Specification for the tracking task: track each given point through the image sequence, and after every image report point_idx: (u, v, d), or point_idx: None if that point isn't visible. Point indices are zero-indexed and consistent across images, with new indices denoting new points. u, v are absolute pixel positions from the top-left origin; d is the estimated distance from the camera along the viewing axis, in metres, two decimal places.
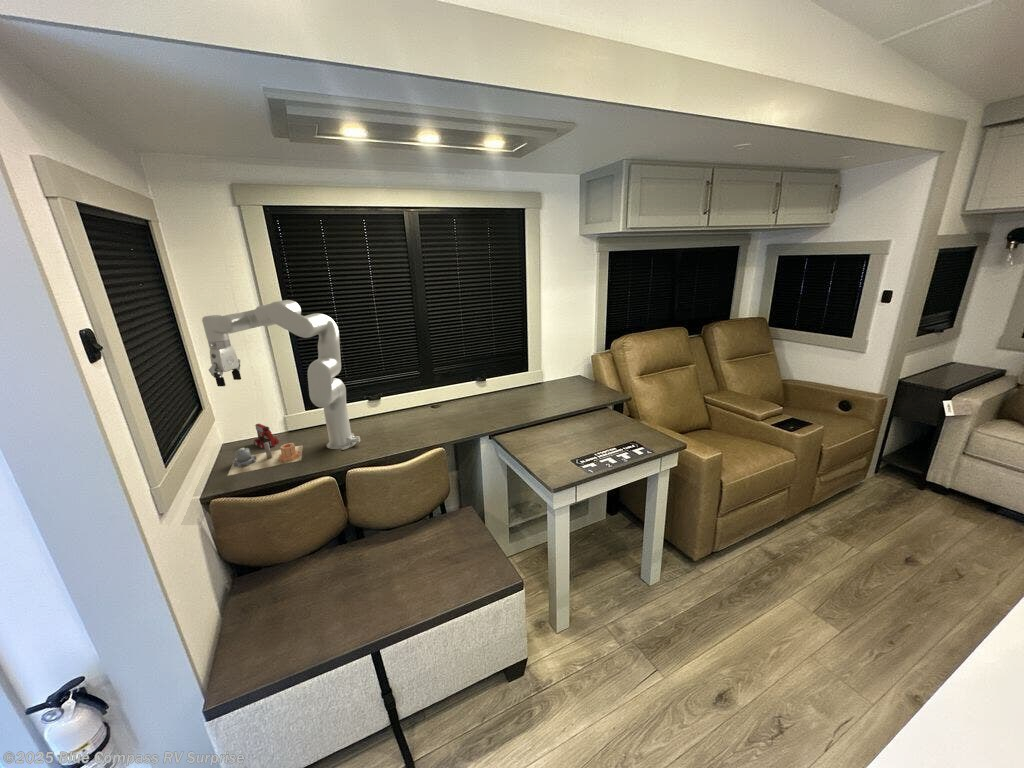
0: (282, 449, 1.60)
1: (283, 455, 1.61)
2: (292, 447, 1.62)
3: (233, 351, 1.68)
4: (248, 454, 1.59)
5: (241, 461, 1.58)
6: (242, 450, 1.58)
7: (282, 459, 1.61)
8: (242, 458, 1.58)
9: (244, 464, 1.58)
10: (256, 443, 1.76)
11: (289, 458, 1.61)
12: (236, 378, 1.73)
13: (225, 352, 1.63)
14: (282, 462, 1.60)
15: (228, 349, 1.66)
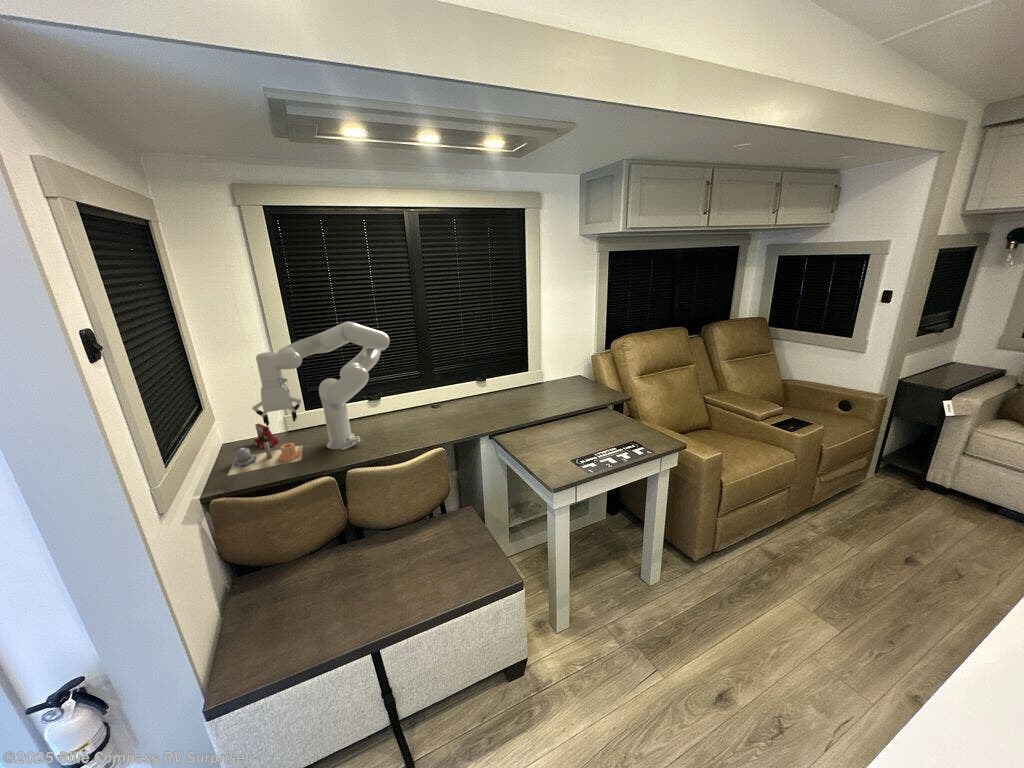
0: (282, 449, 1.60)
1: (283, 455, 1.61)
2: (292, 447, 1.62)
3: None
4: (248, 454, 1.59)
5: (241, 461, 1.58)
6: (242, 450, 1.58)
7: (282, 459, 1.61)
8: (242, 458, 1.58)
9: (244, 464, 1.58)
10: (256, 443, 1.76)
11: (289, 458, 1.61)
12: (268, 423, 1.57)
13: None
14: (282, 462, 1.60)
15: None
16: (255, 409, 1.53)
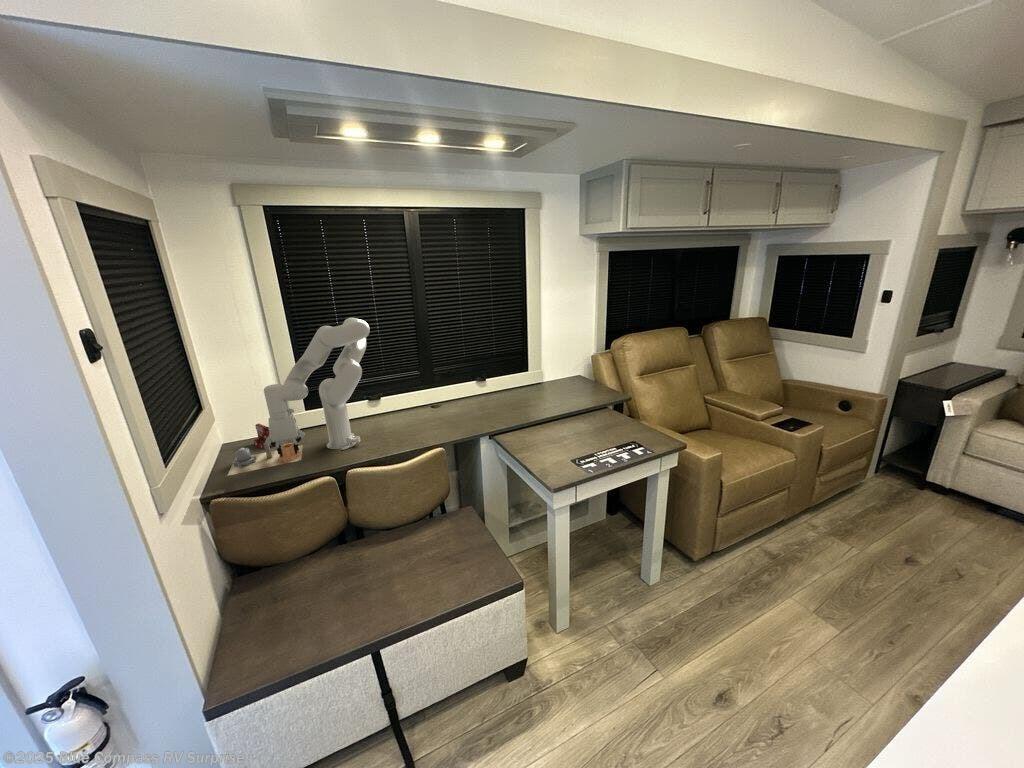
0: (282, 449, 1.60)
1: (283, 455, 1.61)
2: (292, 447, 1.62)
3: None
4: (248, 454, 1.59)
5: (241, 461, 1.58)
6: (242, 450, 1.58)
7: (282, 459, 1.61)
8: (242, 458, 1.58)
9: (244, 464, 1.58)
10: (256, 443, 1.76)
11: (289, 458, 1.61)
12: None
13: None
14: (282, 462, 1.60)
15: None
16: (268, 442, 1.59)
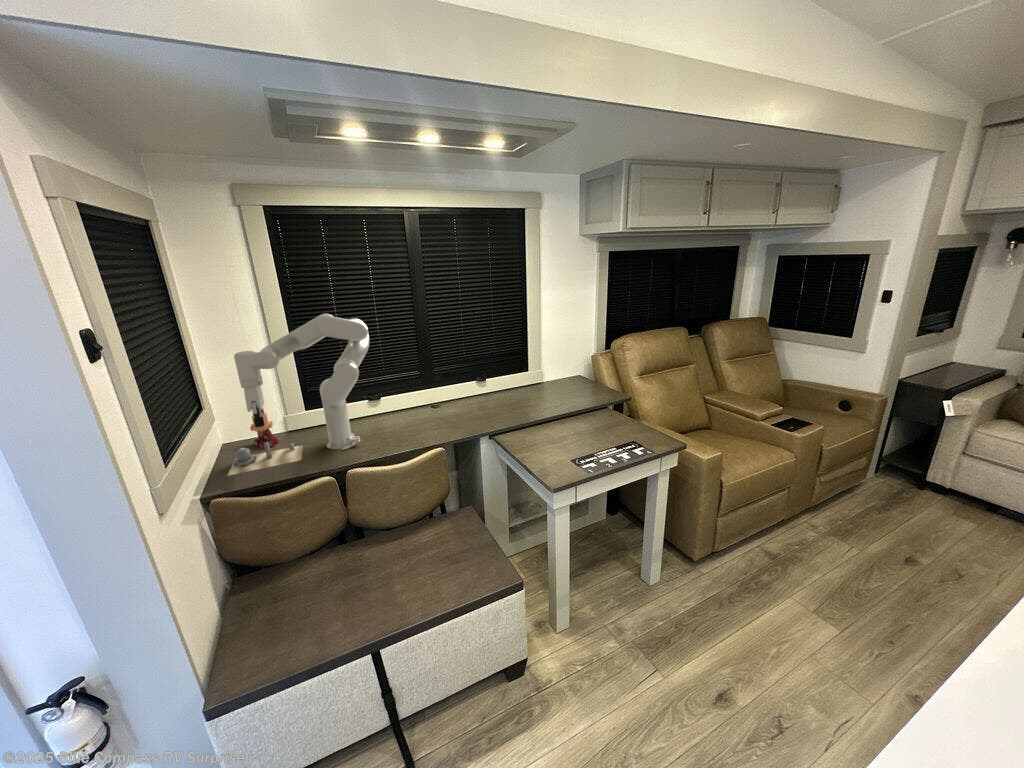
0: (263, 417, 1.58)
1: (264, 423, 1.58)
2: None
3: None
4: (248, 454, 1.59)
5: (241, 461, 1.58)
6: (242, 450, 1.58)
7: (266, 427, 1.59)
8: (242, 458, 1.58)
9: (244, 464, 1.58)
10: (256, 443, 1.76)
11: (270, 423, 1.61)
12: None
13: None
14: (282, 462, 1.60)
15: None
16: (257, 412, 1.52)
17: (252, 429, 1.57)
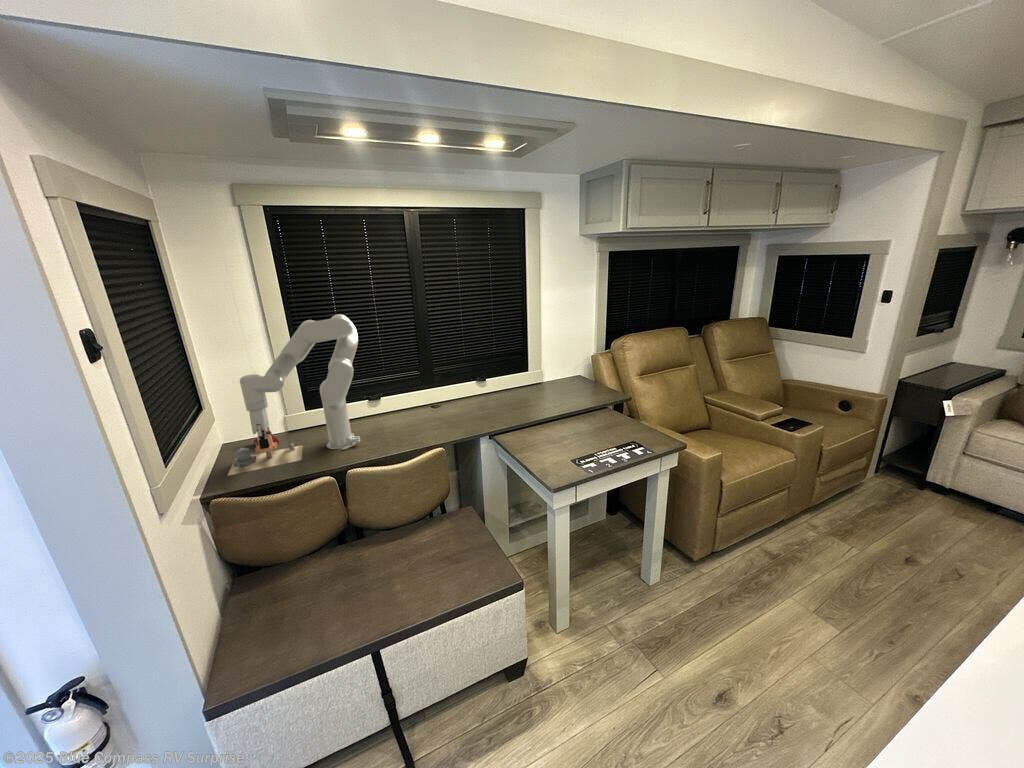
0: (268, 438, 1.61)
1: (269, 445, 1.61)
2: None
3: (250, 417, 1.54)
4: (248, 454, 1.59)
5: (241, 461, 1.58)
6: (242, 450, 1.58)
7: (271, 448, 1.61)
8: (242, 458, 1.58)
9: (244, 464, 1.58)
10: (256, 443, 1.76)
11: (275, 445, 1.64)
12: None
13: None
14: (282, 462, 1.60)
15: None
16: (262, 434, 1.55)
17: (257, 451, 1.60)
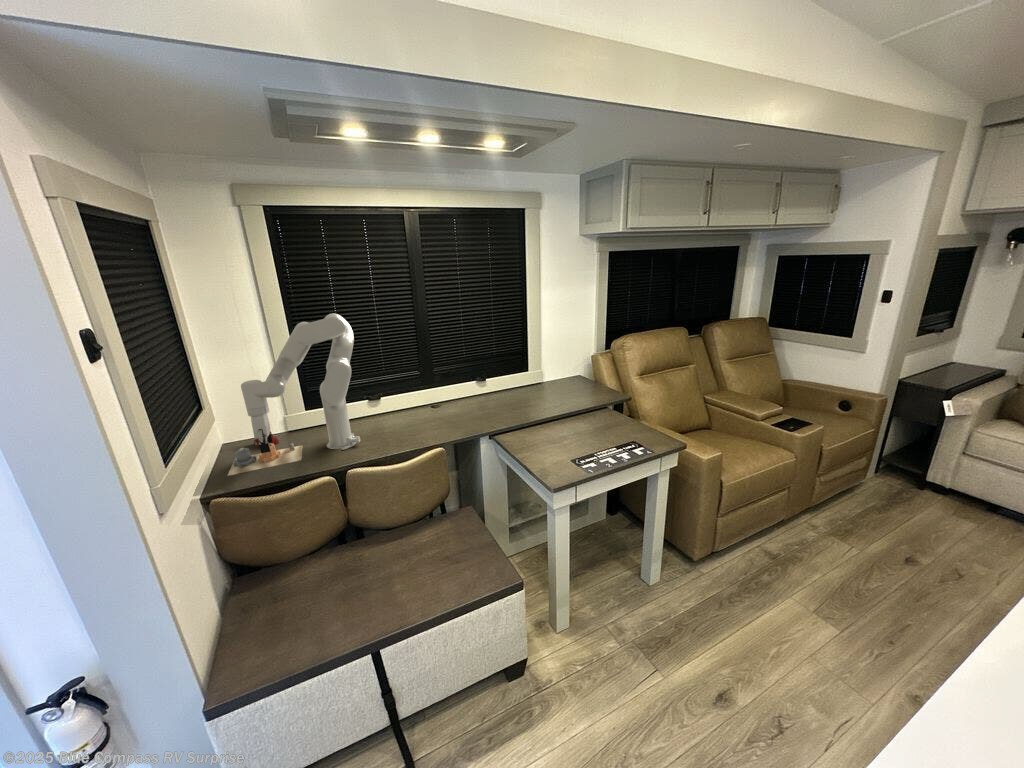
0: (271, 447, 1.62)
1: (272, 454, 1.63)
2: None
3: None
4: (248, 454, 1.59)
5: (241, 461, 1.58)
6: (242, 450, 1.58)
7: (274, 457, 1.63)
8: (242, 458, 1.58)
9: (244, 464, 1.58)
10: (256, 443, 1.76)
11: (278, 453, 1.66)
12: None
13: None
14: (282, 462, 1.60)
15: None
16: (262, 438, 1.54)
17: (260, 460, 1.62)
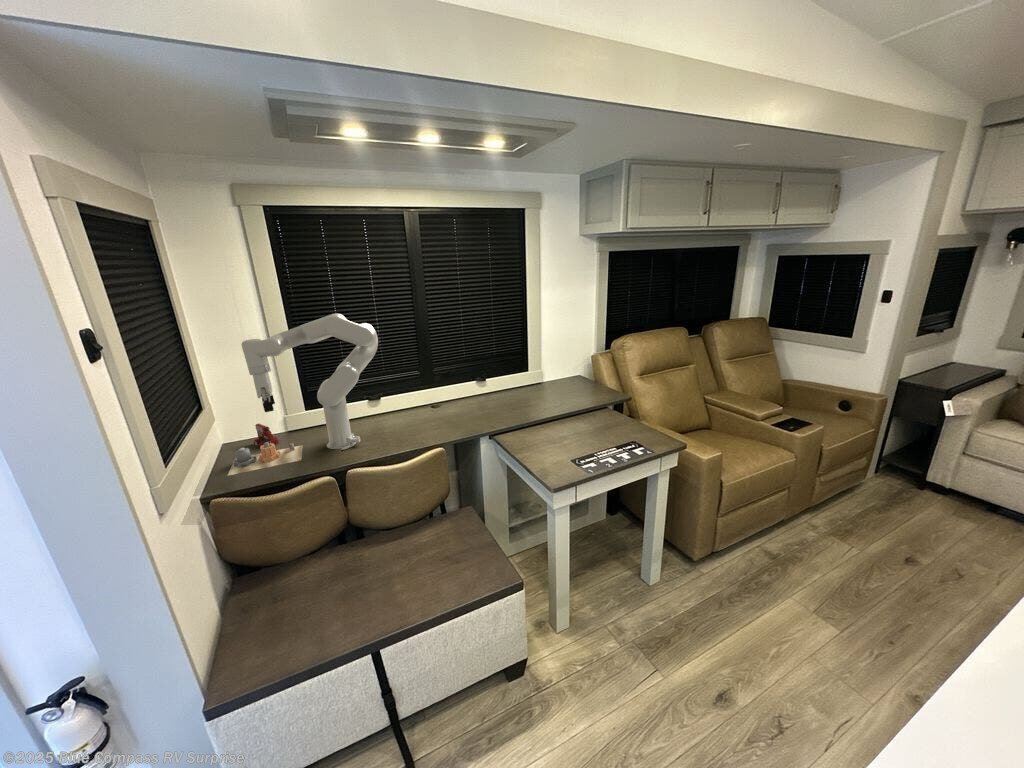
0: (271, 447, 1.62)
1: (272, 454, 1.63)
2: None
3: None
4: (248, 454, 1.59)
5: (241, 461, 1.58)
6: (242, 450, 1.58)
7: (274, 457, 1.63)
8: (242, 458, 1.58)
9: (244, 464, 1.58)
10: (256, 443, 1.76)
11: (278, 453, 1.66)
12: None
13: None
14: (282, 462, 1.60)
15: None
16: (266, 396, 1.55)
17: (260, 460, 1.62)
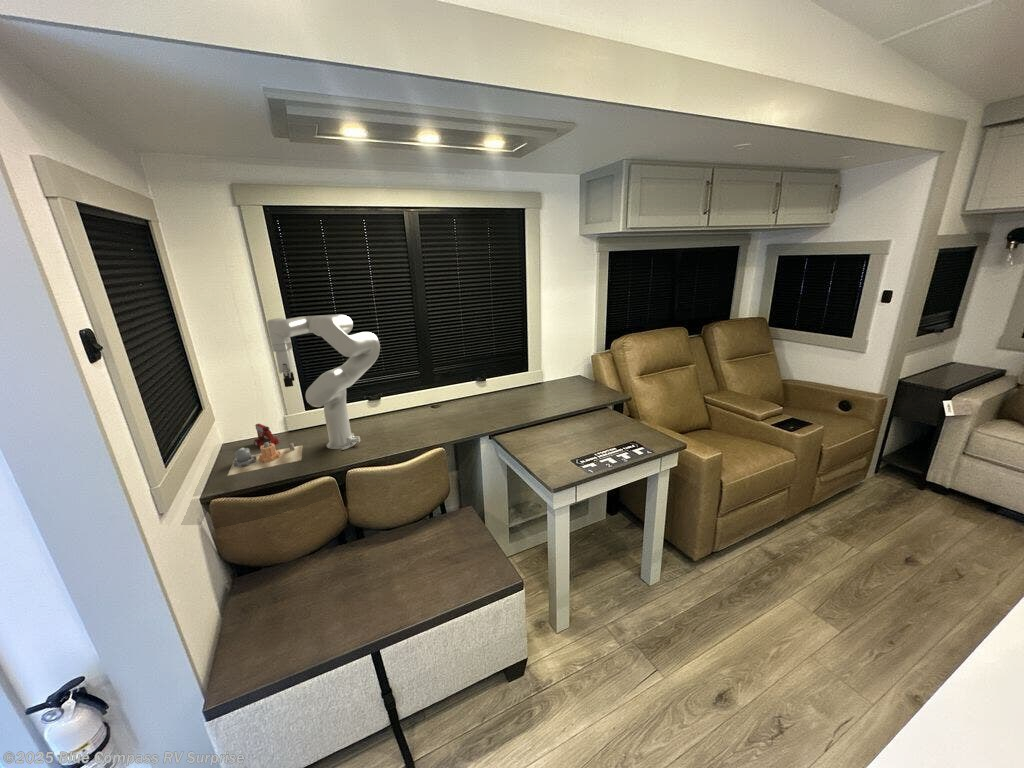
0: (271, 447, 1.62)
1: (272, 454, 1.63)
2: None
3: None
4: (248, 454, 1.59)
5: (241, 461, 1.58)
6: (242, 450, 1.58)
7: (274, 457, 1.63)
8: (242, 458, 1.58)
9: (244, 464, 1.58)
10: (256, 443, 1.76)
11: (278, 453, 1.66)
12: None
13: None
14: (282, 462, 1.60)
15: None
16: (287, 371, 1.67)
17: (260, 460, 1.62)
